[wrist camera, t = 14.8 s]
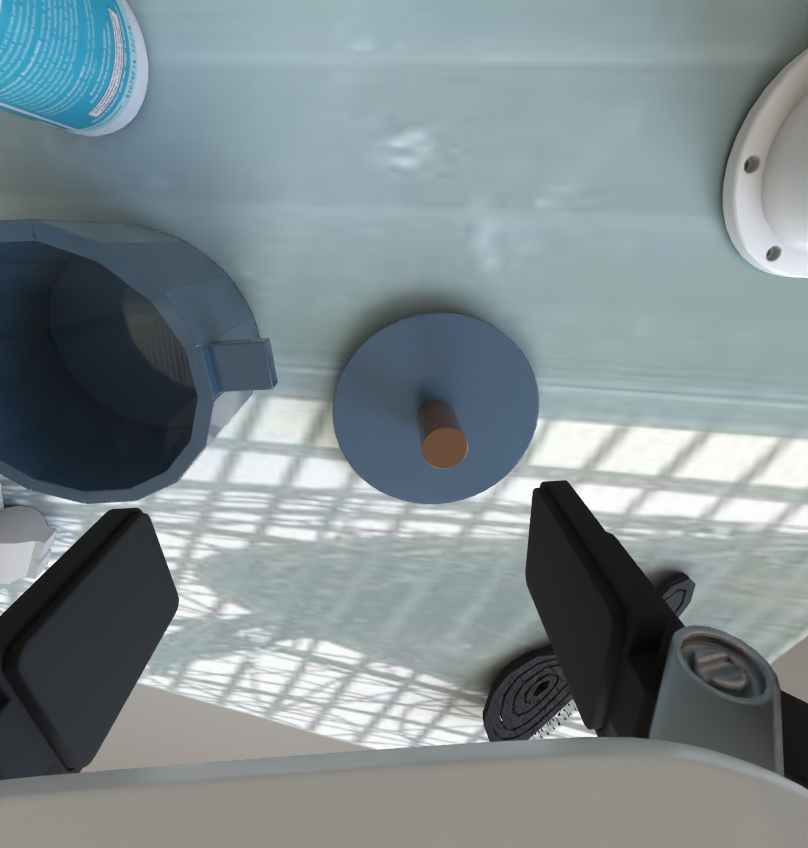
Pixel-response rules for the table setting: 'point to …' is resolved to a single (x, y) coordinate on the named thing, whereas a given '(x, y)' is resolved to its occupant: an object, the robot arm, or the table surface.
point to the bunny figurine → (23, 542)
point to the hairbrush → (548, 681)
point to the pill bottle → (72, 63)
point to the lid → (435, 408)
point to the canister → (116, 358)
